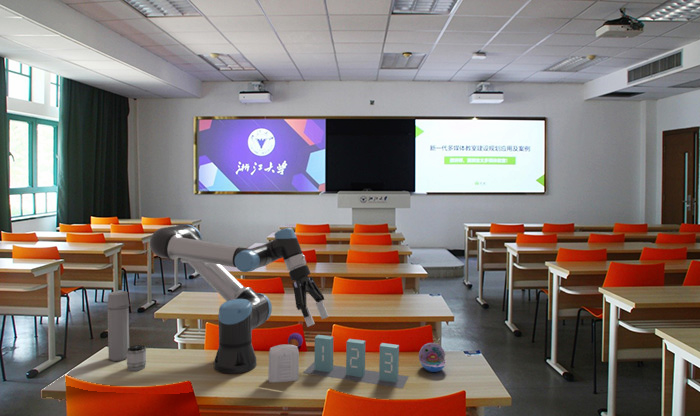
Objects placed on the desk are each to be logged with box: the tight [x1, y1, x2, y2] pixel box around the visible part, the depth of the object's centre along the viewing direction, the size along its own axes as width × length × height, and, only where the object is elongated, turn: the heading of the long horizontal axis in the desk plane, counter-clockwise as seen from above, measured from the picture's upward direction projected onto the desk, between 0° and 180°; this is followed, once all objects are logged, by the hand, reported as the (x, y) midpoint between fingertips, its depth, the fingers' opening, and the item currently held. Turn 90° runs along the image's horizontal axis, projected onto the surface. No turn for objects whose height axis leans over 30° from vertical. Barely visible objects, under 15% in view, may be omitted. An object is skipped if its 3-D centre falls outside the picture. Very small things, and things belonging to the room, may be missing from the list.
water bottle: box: [106, 290, 131, 362], centre depth 181 cm, size 9×8×25 cm
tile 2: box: [345, 338, 366, 377], centre depth 167 cm, size 6×3×12 cm, turn 72°
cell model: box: [418, 342, 447, 373], centre depth 173 cm, size 10×12×10 cm
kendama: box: [287, 332, 304, 348], centre depth 188 cm, size 6×6×20 cm
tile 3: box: [378, 342, 400, 383], centre depth 164 cm, size 6×3×12 cm, turn 72°
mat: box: [302, 361, 410, 389], centre depth 168 cm, size 36×10×1 cm, turn 72°
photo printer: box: [267, 343, 300, 383], centre depth 163 cm, size 10×4×12 cm, turn 103°
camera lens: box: [126, 344, 147, 372], centre depth 172 cm, size 6×6×8 cm
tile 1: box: [313, 334, 334, 372], centre depth 171 cm, size 6×3×12 cm, turn 72°
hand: (318, 321), depth 176 cm, fingers open, 13 cm apart
